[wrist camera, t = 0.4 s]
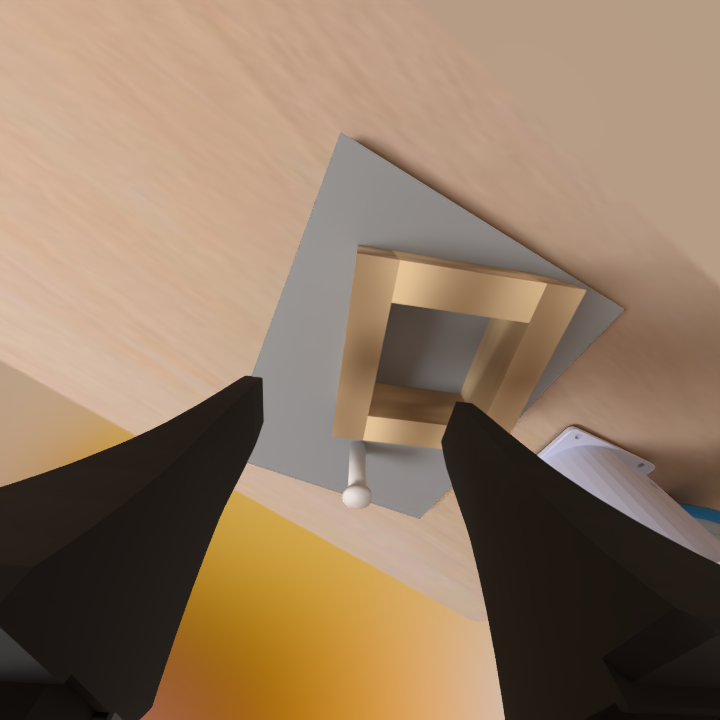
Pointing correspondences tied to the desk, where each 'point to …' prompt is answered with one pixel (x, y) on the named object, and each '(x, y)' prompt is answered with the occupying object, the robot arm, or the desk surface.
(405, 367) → the slate board
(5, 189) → the desk surface
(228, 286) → the desk surface
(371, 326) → the oak frame
